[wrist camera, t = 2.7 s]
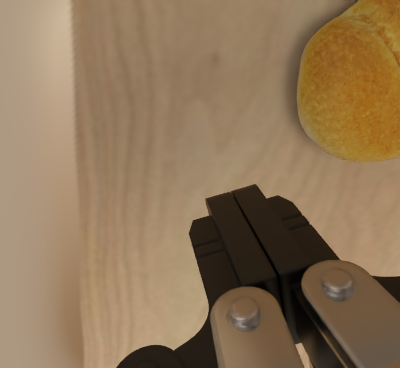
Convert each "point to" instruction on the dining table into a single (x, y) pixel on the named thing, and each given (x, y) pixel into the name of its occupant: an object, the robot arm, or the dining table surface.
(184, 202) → the dining table surface
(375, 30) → the bread roll
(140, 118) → the dining table surface
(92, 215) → the dining table surface
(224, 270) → the robot arm
